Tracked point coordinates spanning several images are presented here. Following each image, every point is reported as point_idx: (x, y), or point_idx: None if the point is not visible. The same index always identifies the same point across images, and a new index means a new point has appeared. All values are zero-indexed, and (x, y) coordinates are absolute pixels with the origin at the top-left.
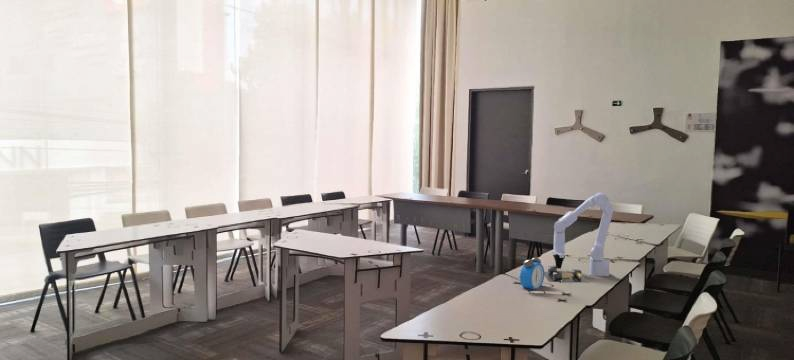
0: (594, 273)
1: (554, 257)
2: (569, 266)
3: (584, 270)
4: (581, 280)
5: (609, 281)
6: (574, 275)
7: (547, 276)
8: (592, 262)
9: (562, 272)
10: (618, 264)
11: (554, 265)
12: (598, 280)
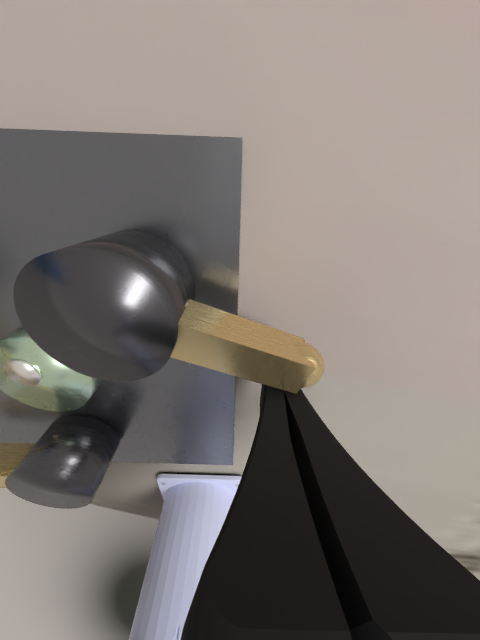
0: (163, 512)
1: (311, 556)
2: (457, 450)
3: None
4: (2, 435)
5: (121, 503)
6: (41, 436)
7: None
8: (148, 618)
9: (222, 384)
10: None
11: (284, 379)
12: (124, 483)
